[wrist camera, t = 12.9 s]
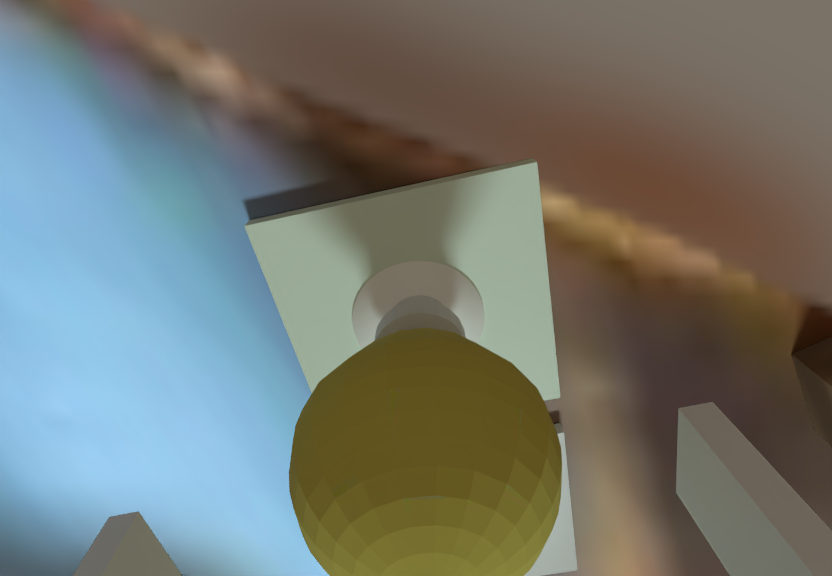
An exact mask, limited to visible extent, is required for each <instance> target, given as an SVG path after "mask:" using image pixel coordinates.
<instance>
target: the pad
mask: <svg viewBox="0 0 832 576" xmlns="http://www.w3.org/2000/svg"><path fill="white" fill-rule="evenodd" d="M245 229H246V231H247V234H248V236H249V239H250V241H251V244H252V246H253V249H254V251H255V254H256V256H257V258H258V261H259V263H260V266H261V268H262V271H263V273H264V276H265V278H266V281H267V283H268V286H269V288H270V291H271V293H272V296H273V298H274V301H275V303H276V306H277V308H278V311H279V313H280V315H281V318H282V320H283V323H284V325H285V328H286V330H287V333H288V335H289V338H290V340H291V343H292V345H293V348H294V350H295V353H296V355H297V358H298V360H299V363H300V365H301V367H302V370H303V372H304V375H305V377H306V380H307V382H308V385H309V387H310V390H311V392H312V393H313V391H314V389H315V388H316V386H317V384H318V383H319V381H321V380H322V379H323V378H324V377H326V376H327V375H328V374H329V373H331V372H332V371H333V370H334V369H336V368H337V367H338V366H339V365H341V364H342V363H343V362H344V361H346V360H347V359H348V358H349V357H351V356H352V355H354V354H355V353H357V352H358V351H360V350H361V349H363V348H364V347H366V346H367V345H369V344H370V343H372V342H373V341H374V340H375V334H376V329H377V326H378V324H379V322H380V321H381V319H382V318H383V316H384V315H385V314H386V313H387V312H389V311H390V310H391V309H392V308H393V307H394V306H395V305H396V304H397V303H399V302H400V301H401V300H403V299H405V298H408V297H410V296H417V295H423V296H429V297H432V298H434V299H436V300H438V301H440V302H441V303H442V304H443V305H444V306H445V307H447V308H449V309H450V310H451V311H452V312H453V313H454V314H455V315H456V316H457V317H458V318H459V319H460V322H461V324H462V326H463V328H464V331H465V336H466V338H467V339H469V340H471V341H473V342H475V343H477V344H479V345H481V346H482V347H484V348H486V349H488V350H490V351H491V352H493V353H495V354H497V355H499V356H501V357H502V358H504V359H506V360H508V361H510V362H511V363H513V364H514V365H515V366H516V367H517V368H518V369H519V370H520V371H521V372H522V373H523V374H524V375H525V376H526V377H527V378H528V379H529V380H530V381H531V382H532V383H533V384H534V385H535V386H536V387H537V389H538V391H539V393H540V394H541V396H542V398H543V400H544V401H545V400H550V399H556V398H560V389H559V379H558V369H557V359H556V348H555V338H554V328H553V318H552V308H551V298H550V288H549V278H548V268H547V258H546V247H545V237H544V227H543V217H542V207H541V197H540V187H539V177H538V167H537V162H536V161H535V160H534V159H533V158H530V159H526V160H521V161H517V162H512V163H508V164H503V165H498V166H494V167H489V168H485V169H480V170H476V171H471V172H467V173H462V174H458V175H453V176H448V177H444V178H439V179H435V180H430V181H426V182H421V183H417V184H412V185H408V186H403V187H398V188H394V189H389V190H385V191H380V192H376V193H371V194H367V195H362V196H358V197H353V198H348V199H344V200H339V201H335V202H330V203H326V204H321V205H317V206H312V207H308V208H303V209H298V210H294V211H289V212H285V213H280V214H276V215H271V216H267V217H262V218H257V219H253V220H249V221H248V223H247V224H246V225H245Z"/></svg>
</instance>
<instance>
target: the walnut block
mask: <svg viewBox="0 0 832 576" xmlns="http://www.w3.org/2000/svg"><path fill="white" fill-rule="evenodd" d="M791 355H792V358H793V361H794V365H795V368H796V371H797V375H798V378H799V381H800V385H801V388H802V391H803V395H804V398H805V401H806V404H807V408H808V411H809V414H810V418H811V421H812V424H813V428H814V430H815V431H816V432H817V433H818V434H819V435H820V436H821V437H822V438H823V439H824V440H825V441H827V442H828V443H829V444H830V445H831V446H832V337H830V338H827V339H825V340H823V341H820V342H818V343H816V344H813V345H811V346H809V347H806V348H804V349H802V350H799V351H797V352H795V353H792V354H791Z"/></svg>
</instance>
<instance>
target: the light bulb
mask: <svg viewBox="0 0 832 576" xmlns="http://www.w3.org/2000/svg"><path fill="white" fill-rule="evenodd" d="M561 484H562V453H561V445H560V442H559V438H558V434H557V431H556V429H555V426H554V424H553V421H552V419H551V417H550V414H549V412H548V410H547V407H546V405H545V402H544V400H543V398H542V396H541V394H540V393H539V391H538V389H537V387H536V386H535V385H534V384H533V383H532V382H531V381H530V380H529V379H528V378H527V377H526V376H525V375H524V374H523V373H522V372H521V371H520V370H519V369H518V368H517V367H516V366H515V365H514V364H513V363H511V362H510V361H508V360H506V359H504V358H502V357H501V356H499V355H497V354H495V353H493V352H491V351H490V350H488V349H486V348H484V347H482V346H481V345H479V344H477V343H475V342H473V341H471V340H469V339H467V338H466V336H465V331H464V328H463V326H462V324H461V322H460V319H459V318H458V317H457V316H456V315H455V314H454V313H453V312H452V311H451V310H450V309H449V308H447V307H445V306H444V305H443V304H442V303H441V302H440V301H438V300H436V299H434V298H432V297H429V296H423V295H417V296H410V297H408V298H405V299H403V300H401V301H400V302H399V303H397V304H396V305H395V306H394V307H393V308H392V309H391V310H390V311H389V312H387V313H386V314H385V315H384V316H383V318H382V319H381V321H380V322H379V324H378V326H377V329H376V334H375V340H374V341H373V342H372V343H370V344H369V345H367V346H366V347H364V348H363V349H361V350H360V351H358V352H357V353H355V354H354V355H352V356H351V357H349V358H348V359H347V360H346V361H344V362H343V363H342V364H341V365H339V366H338V367H337V368H336V369H334V370H333V371H332V372H331V373H329V374H328V375H327V376H326V377H324V378H323V379H322V380H321V381H319V383H318V384H317V386H316V388H315V389H314V391H313V393H312V394H311V396H310V398H309V399H308V401H307V403H306V405H305V406H304V408H303V410H302V411H301V414H300V416H299V419H298V421H297V424H296V427H295V433H294V438H293V445H292V453H291V462H290V470H289V487H290V495H291V499H292V503H293V507H294V511H295V514H296V517H297V520H298V523H299V526H300V529H301V532H302V535H303V537H304V539H305V541H306V544H307V546H308V548H309V550H310V552H311V553H312V555H313V556H314V557H315V559H316V560H317V561H318V562H319V564H320V565H321V566H322V567H323V569H324V570H325V571H326V572H327V573H328V574H329V575H330V576H524V575H525V574H526V573H527V572H528V571H529V570H530V569H531V568H532V566H533V565H534V563H535V562H536V560H537V559H538V557H539V556H540V554H541V552H542V550H543V548H544V546H545V544H546V542H547V540H548V538H549V536H550V534H551V532H552V530H553V527H554V524H555V522H556V519H557V516H558V513H559V506H560V499H561Z"/></svg>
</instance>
